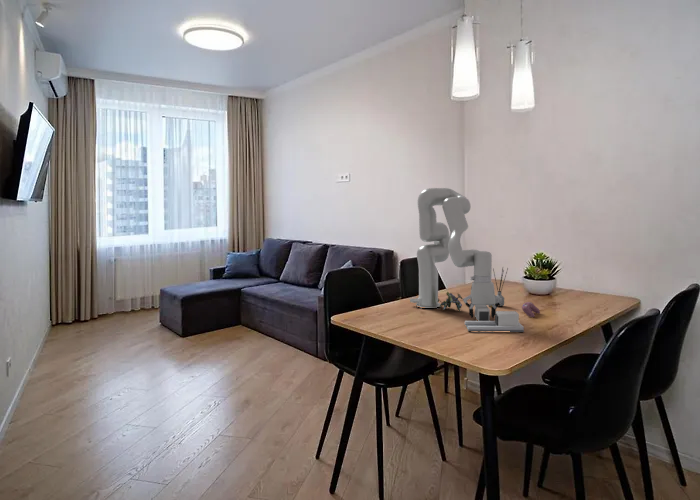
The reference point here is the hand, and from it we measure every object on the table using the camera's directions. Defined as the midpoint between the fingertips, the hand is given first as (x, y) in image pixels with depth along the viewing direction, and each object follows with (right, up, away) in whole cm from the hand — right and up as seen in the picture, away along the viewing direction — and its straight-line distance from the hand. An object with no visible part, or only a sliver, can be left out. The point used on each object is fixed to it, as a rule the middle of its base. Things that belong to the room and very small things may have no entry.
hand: (482, 317), depth 201 cm
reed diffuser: (+15, +1, +24) cm, 28 cm away
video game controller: (+25, 0, +7) cm, 26 cm away
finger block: (0, -1, 0) cm, 1 cm away
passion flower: (-10, 0, +17) cm, 20 cm away
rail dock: (+1, -3, -14) cm, 14 cm away
